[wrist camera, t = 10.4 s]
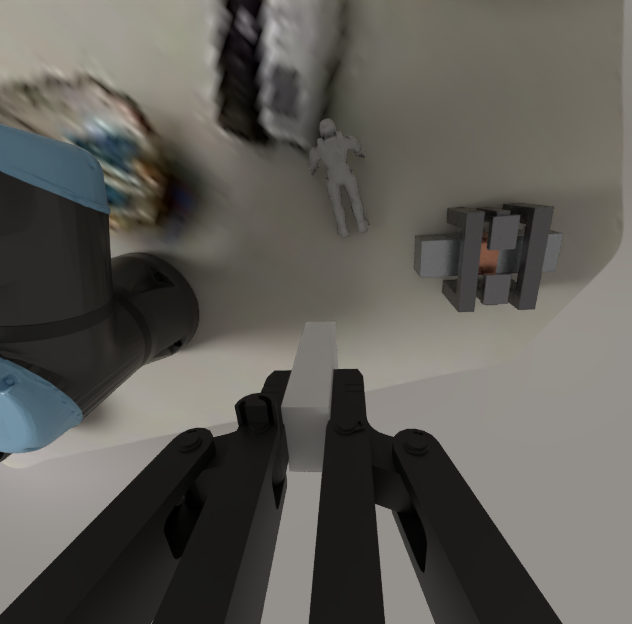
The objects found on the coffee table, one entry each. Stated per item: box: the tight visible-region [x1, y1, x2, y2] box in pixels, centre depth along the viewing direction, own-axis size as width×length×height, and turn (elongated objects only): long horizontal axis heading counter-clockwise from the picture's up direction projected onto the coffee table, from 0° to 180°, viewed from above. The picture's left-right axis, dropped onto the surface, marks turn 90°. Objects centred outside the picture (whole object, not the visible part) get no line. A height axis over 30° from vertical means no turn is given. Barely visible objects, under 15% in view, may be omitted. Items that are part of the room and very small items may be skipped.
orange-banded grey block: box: [414, 229, 563, 277], centre depth 36 cm, size 14×4×4 cm, turn 94°
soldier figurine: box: [308, 119, 369, 238], centre depth 34 cm, size 6×5×12 cm
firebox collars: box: [442, 203, 554, 312], centre depth 34 cm, size 8×10×7 cm
